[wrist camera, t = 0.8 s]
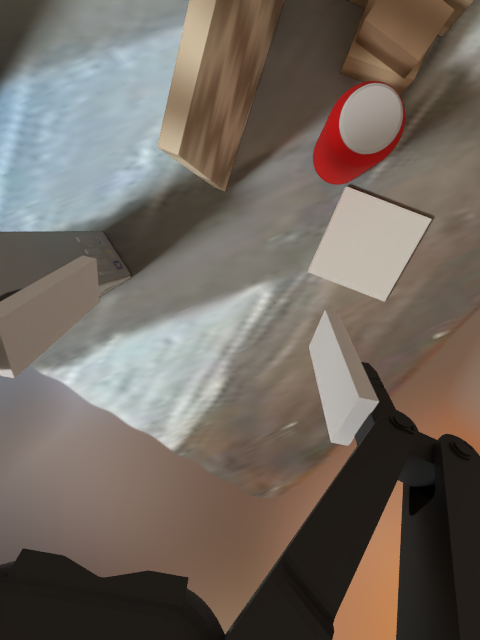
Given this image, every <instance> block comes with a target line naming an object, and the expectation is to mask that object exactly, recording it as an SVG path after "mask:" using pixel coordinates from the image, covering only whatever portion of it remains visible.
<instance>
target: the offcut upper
mask: <svg viewBox="0 0 480 640" xmlns="http://www.w3.org/2000/svg"><path fill="white" fill-rule="evenodd" d="M453 11H454V9H453V8H452V7H451V6H449V5H448V4H447V3H446V2H444V1H443V0H376V2H375V3H374V5H373V7H372V8H371V10H370V12H369V13H368V15H367V17H366V18H365V20H364V23H363V25H362V27H361V30H360V32H359V35H358V37H357V39H356V43H358V44H359V45H360V46H361V47H363V48H364V49H365V50H367V51H368V52H369V53H371V54H372V55H373V56H375V57H376V58H377V59H379V60H380V61H381V62H383V63H384V64H385V65H386V66H388V67H389V68H390V69H392V70H393V71H394V72H396V73H397V74H398V75H400V76H401V77H402V78H404V79H405V77H406V76H407V75H408V74H409V73H410V71H411V70H412V69H413V68H414V67H415V66H416V64H417V63H418V62H419V61H420V59H421V58H422V56H423V55H424V54H425V52H426V51H427V49H428V48H429V46H430V45H431V43H432V42H433V40H434V39H435V37H436V36H437V35H438V33H439V32H440V30H441V29H442V27H443V26H444V24H445V23H446V21H447V20H448V18H449V17H450V16H451V14H452V13H453Z"/></svg>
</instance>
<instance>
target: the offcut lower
mask: <svg viewBox="0 0 480 640" xmlns="http://www.w3.org/2000/svg"><path fill="white" fill-rule="evenodd" d="M375 2H376V0H368V3H367V5H366V8H365V10H364V13H363V15H362V18H361V20H360V23H359V26H358V28H357V31H356V33H355V36H354V39H353V41H352V44H351V47H350V49H349V52H348V54H347V57H346V60H345V62H344V65H343V68H342V70H341V73H340V74H343V75H346V76H349V77H351V78H354V79H357V80H360V81H362V82H367V81H380V82H384V83H386V84H388V85H390V86H392V87H393V88H394V89H395V90H396V91H397V92H398V94H399V95H401V93H402V92H403V91H404V90H405V89H406V88H407V87H408V86H409V85H410V84H411V83H412V82H413V80H414V79H415V77H416V74H417V72H418V70H419V68H420V66H421V64H422V61H423V59H424V57H425V55H426V53H427V51H426V52H425V54H424V55H423V56H422V58H421V59H420V61H419V62H418V63H417V64H416V66H415V67H414V68H413V69H412V70H411V71H410V73H409V74H408V75H407V76H406V77H405V79H404V78H402V77H401V76H400V75H398V74H397V73H396V72H394V71H393V70H392V69H390V68H389V67H388V66H386V65H385V64H384V63H383V62H381V61H380V60H379V59H377V58H376V57H375V56H373V55H372V54H371V53H369V52H368V51H367V50H365V49H364V48H363V47H361V46H360V45H359V44H358V43H356V39H357V37H358V35H359V32H360V30H361V27H362V25H363V23H364V20H365V18H366V17H367V15H368V13H369V12H370V10H371V8H372V7H373V5H374V3H375ZM427 50H428V49H427Z"/></svg>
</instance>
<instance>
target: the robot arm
mask: <svg viewBox="0 0 480 640" xmlns="http://www.w3.org/2000/svg"><path fill="white" fill-rule="evenodd" d="M99 302H100V299H99V285H98V272H97V259H96V258H92V257H87V256H81V257H79V258H77V259H76V260H74V261H72V262H70V263H68V264H67V265H65V266H63V267H61V268H59V269H58V270H56V271H54V272H52V273H51V274H49V275H47V276H45V277H43V278H42V279H40V280H38V281H36V282H34V283H33V284H31V285H29V286H27V287H26V288H24V289H18V290H15V291H11V292H8V293H5V294H3V295H1V296H0V376H5V377H10V378H15V377H16V376H17V375H19V374H20V373H21V372H22V371H23V370H24V369H25V368H26V367H28V366H29V365H30V364H31V363H32V362H33V361H34V360H35V359H36V358H38V357H39V356H40V355H41V354H42V353H43V352H44V351H45V350H46V349H48V348H49V347H50V346H51V345H52V344H53V343H54V342H55V341H56V340H58V339H59V338H60V337H61V336H62V335H63V334H64V333H65V332H66V331H68V330H69V329H70V328H71V327H72V326H73V325H74V324H75V323H77V322H78V321H79V320H80V319H81V318H82V317H83V316H84V315H85V314H87V313H88V312H89V311H90V310H91V309H92V308H93V307H94V306H95V305H97V304H98V303H99ZM309 349H310V353H311V358H312V362H313V366H314V371H315V375H316V379H317V384H318V388H319V393H320V397H321V401H322V406H323V410H324V414H325V419H326V423H327V427H328V432H329V436H330V440H331V442H332V443H337V444H342V445H347V446H348V445H349V444H350V443H351V441H352V440H353V439H354V437H355V439H356V442H357V447H356V449H355V450H354V452H353V453H352V454H351V456H350V457H349V459H348V460H347V462H346V463H345V465H344V466H343V467H342V469H341V470H340V472H339V473H338V475H337V476H336V477H335V479H334V480H333V482H332V483H331V485H330V486H329V487H328V489H327V490H326V492H325V493H324V495H323V496H322V497H321V499H320V500H319V502H318V503H317V505H316V506H315V507H314V509H313V510H312V512H311V513H310V515H309V516H308V518H307V519H306V520H305V522H304V523H303V525H302V526H301V527H300V529H299V530H298V532H297V533H296V535H295V536H294V537H293V539H292V541H291V542H290V543H289V545H288V546H287V548H286V549H285V550H284V552H283V553H282V555H281V556H280V558H279V559H278V561H277V562H276V563H275V565H274V566H273V568H272V569H271V571H270V572H269V573H268V575H267V576H266V578H265V579H264V580H263V582H262V583H261V585H260V586H259V588H258V589H257V590H256V592H255V593H254V595H253V596H252V597H251V599H250V600H249V602H248V603H247V604H246V606H245V607H244V609H243V610H242V611H241V613H240V614H239V616H238V617H237V619H236V620H235V621H234V623H233V625H232V626H231V627H230V629H229V630H228V631H227V633H226V634H224V632H223V630H222V628H221V625H220V624H219V622H218V620H217V618H216V617H215V615H214V613H213V612H212V610H211V609H210V608H209V607H208V605H207V604H206V603H205V602H204V601H203V600H202V599H201V598H200V597H199V596H197V595H196V594H195V593H194V592H192V591H190V590H189V589H187V583H188V577H182V576H176V575H171V574H165V573H159V572H154V571H143V572H137V573H131V574H125V575H118V576H112V577H105V578H102V577H98V576H97V575H95V574H93V573H92V572H90V571H88V570H87V569H85V568H84V567H82V566H80V565H79V564H77V563H75V562H74V561H72V560H70V559H69V558H67V557H65V556H62V555H57V554H51V553H46V552H40V551H34V550H29V549H22V551H21V553H20V555H19V556H18V557H17V559H16V561H13V562H9V563H5V564H2V565H0V640H332V638H333V634H334V627H333V622H334V619H335V616H336V614H337V611H338V609H339V607H340V605H341V602H342V600H343V598H344V596H345V594H346V591H347V589H348V587H349V585H350V583H351V581H352V579H353V576H354V574H355V572H356V570H357V568H358V565H359V563H360V561H361V559H362V556H363V554H364V552H365V550H366V548H367V545H368V544H369V541H370V539H371V537H372V534H373V533H374V530H375V528H376V526H377V524H378V522H379V519H380V517H381V515H382V513H383V511H384V508H385V506H386V504H387V502H388V500H389V497H390V495H391V493H392V491H393V489H394V486H395V484H396V482H397V480H399V481H401V482H403V501H402V524H401V545H400V567H399V589H398V612H397V635H396V640H480V456H479V454H478V453H477V452H476V451H475V450H474V448H473V447H472V446H471V445H469V444H468V443H467V442H466V441H463V440H462V439H461V438H459V437H456V436H454V435H451V434H444V435H442V436H441V437H440V438H439V439H438V440H436V439H434V438H431V437H429V436H427V435H425V434H423V433H420V432H419V431H418V429H417V427H416V425H415V424H414V423H413V421H412V420H411V419H410V418H409V417H407V416H406V415H405V414H403V413H401V412H399V411H397V410H396V409H395V407H394V405H393V403H392V401H391V399H390V397H389V395H388V393H387V391H386V389H385V388H384V385H383V383H382V381H380V380H381V379H380V378H379V376H378V374H377V372H376V371H375V370H374V368H373V367H372V366H371V365H370V364H369V363H364V362H361V361H360V359H359V357H358V355H357V352H356V350H355V348H354V346H353V344H352V342H351V340H350V337H349V335H348V333H347V331H346V329H345V327H344V324H343V322H342V320H341V318H340V316H339V314H338V312H334V311H330V310H325V311H324V313H323V316H322V318H321V320H320V323H319V325H318V327H317V329H316V332H315V334H314V336H313V339H312V341H311V343H310V346H309Z"/></svg>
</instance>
